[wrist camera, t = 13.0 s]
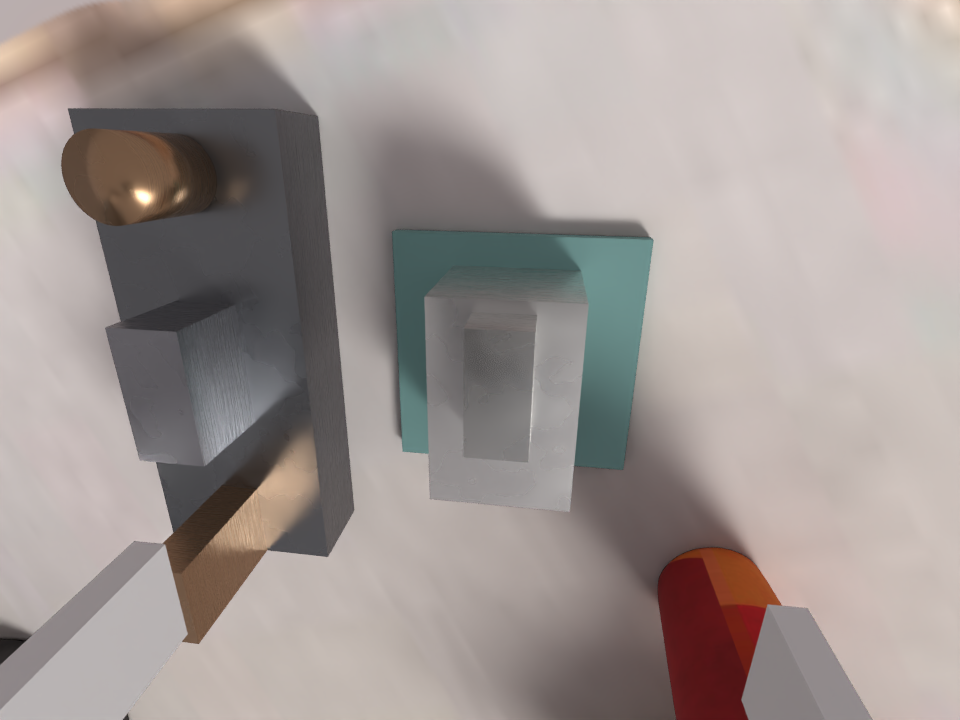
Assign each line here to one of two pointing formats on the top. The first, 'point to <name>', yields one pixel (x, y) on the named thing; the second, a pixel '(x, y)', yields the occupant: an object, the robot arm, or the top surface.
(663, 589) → the coffee cup
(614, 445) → the rubber mat
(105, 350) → the top surface
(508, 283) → the lever cap
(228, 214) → the hand plane
